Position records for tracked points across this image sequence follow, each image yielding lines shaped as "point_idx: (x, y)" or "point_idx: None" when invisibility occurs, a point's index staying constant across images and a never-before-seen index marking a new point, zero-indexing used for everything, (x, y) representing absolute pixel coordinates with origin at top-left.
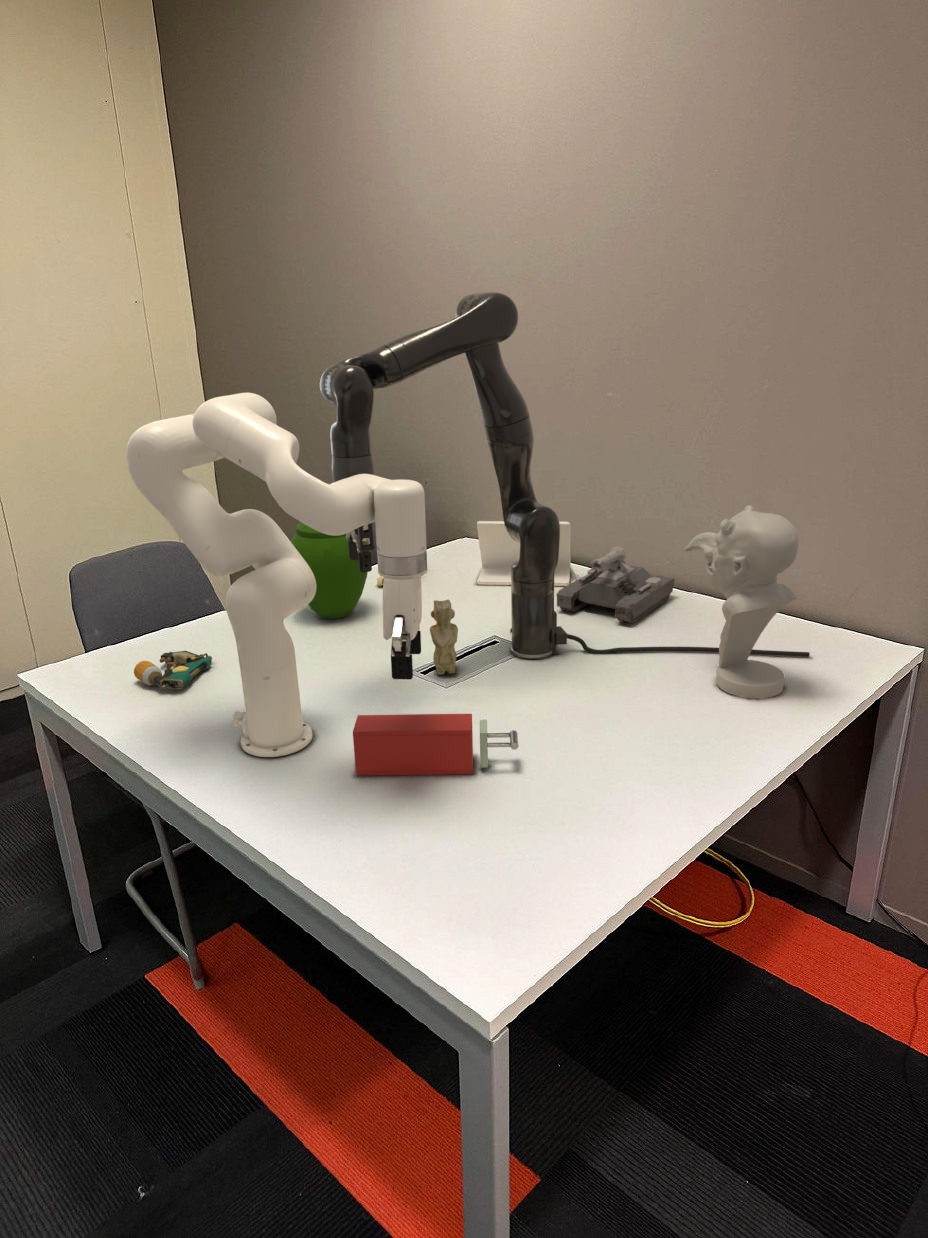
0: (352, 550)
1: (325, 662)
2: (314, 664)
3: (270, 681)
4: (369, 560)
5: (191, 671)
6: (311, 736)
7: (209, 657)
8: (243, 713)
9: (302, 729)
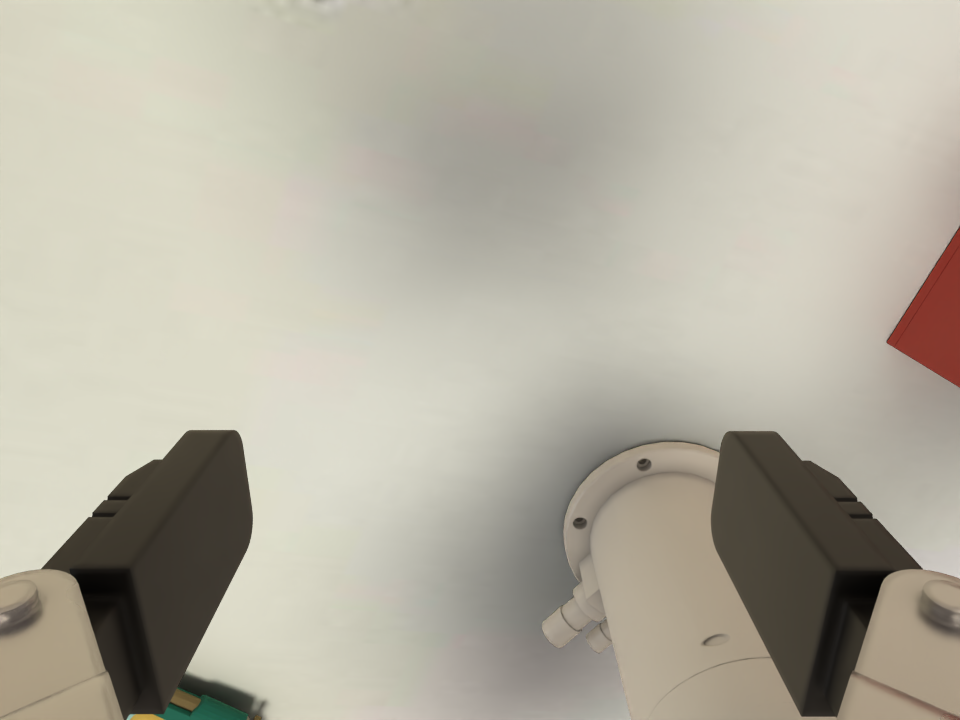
0: (207, 578)
1: (123, 303)
2: (133, 343)
3: None
4: (883, 532)
5: (173, 706)
6: (713, 453)
7: None
8: (574, 628)
9: (702, 483)
